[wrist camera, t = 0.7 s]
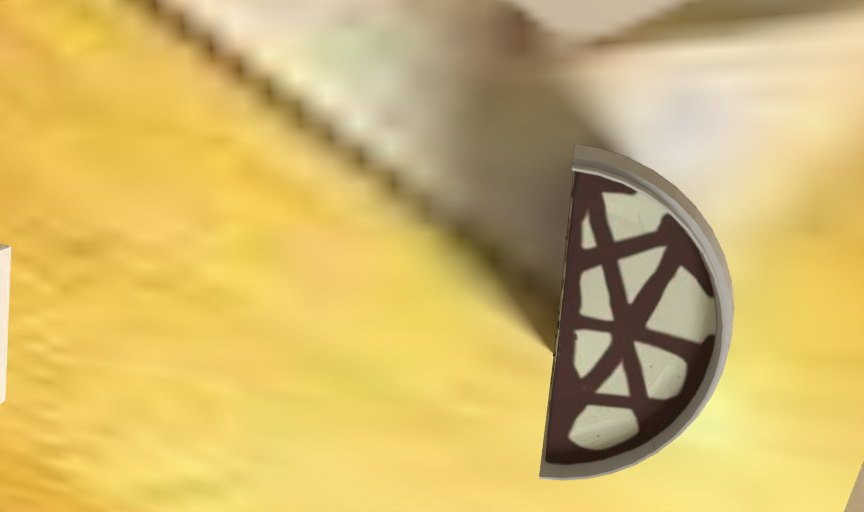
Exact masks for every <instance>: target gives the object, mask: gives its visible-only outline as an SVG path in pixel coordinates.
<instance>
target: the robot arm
mask: <svg viewBox="0 0 864 512" xmlns="http://www.w3.org/2000/svg"><path fill="white" fill-rule="evenodd" d="M10 262H11V246H7V245H3V244H0V404H1V403H2V402H4V401H5V393H6V367H7V340H8V314H9V288H10ZM844 512H864V462H863V464H862V467H861V469H860V472H859V474H858V477H857V479H856V482H855V485H854V487H853V490H852V492H851V495H850V497H849V500H848V503H847V505H846V508H845V510H844Z"/></svg>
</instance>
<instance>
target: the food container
mask: <svg viewBox="0 0 864 512" xmlns="http://www.w3.org/2000/svg"><path fill="white" fill-rule="evenodd" d="M572 170H573V180H572V189H571V193H570V194H571V199H570V208H569V218H568V227H567V236H566V246H565V255H564V264H563V274H562V283H561V293H560V302H559V311H558V321H557V330H556V335H555V337H556V339H555V349H554V354H553V356H554V358H553V366H552V374H551V382H550V391H549V399H548V407H547V416H546V424H545V432H544V441H543V449H542V457H541V466H540V474H539V479H550V480H575V479H588V478H593V477H598V476H603V475H607V474H612V473H615V472H617V471H620V470H623V469H625V468H628V467H631V466H634V465H636V464H638V463H639V462H641V461H643V460H645V459H647V458H649V457H650V456H652V455H654V454H656V453H657V452H659V451H660V450H661V449H663V448H664V447H665V446H667V445H668V444H669V443H670V442H672V441H673V440H674V439H676V438H677V437H678V436H680V435H681V434H682V433H683V432H684V431H685V430H686V428H687V427H688V426H689V425H690V424H691V423H692V422H693V421H694V420H695V419H696V418H697V417H698V416H699V414H700V413H701V411H702V410H703V408H704V407H705V405H706V404H707V402H708V401H709V399H710V398H711V396H712V395H713V393H714V390H715V388H716V386H717V384H718V382H719V379H720V377H721V375H722V373H723V370H724V366H725V362H726V358H727V354H728V351H729V347H730V342H731V337H732V330H733V316H734V300H733V290H732V281H731V277H730V273H729V270H728V266H727V263H726V259H725V256H724V253H723V251H722V249H721V247H720V245H719V243H718V240H717V238H716V236H715V234H714V232H713V230H712V228H711V227H710V226H709V224H708V223H707V221H706V220H705V219H704V217H703V216H702V214H701V213H700V212H699V210H698V209H697V207H696V206H695V205H694V204H693V203H692V202H691V201H690V200H689V199H688V198H687V197H686V196H685V195H684V194H683V193H682V192H681V191H680V190H679V189H678V188H677V187H676V186H674V185H673V184H672V183H670V182H669V181H668V180H666V179H665V178H663V177H662V176H661V175H659V174H658V173H657V172H655V171H654V170H652V169H650V168H648V167H646V166H644V165H642V164H640V163H638V162H636V161H634V160H632V159H630V158H628V157H625V156H622V155H619V154H616V153H613V152H610V151H607V150H604V149H601V148H595V147H589V146H583V145H576V144H575V148H574V155H573V164H572Z"/></svg>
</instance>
